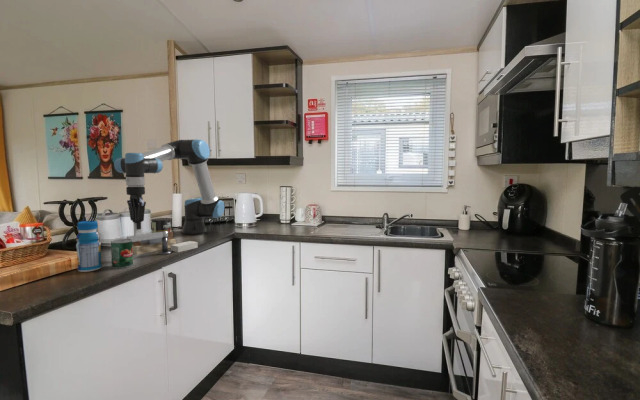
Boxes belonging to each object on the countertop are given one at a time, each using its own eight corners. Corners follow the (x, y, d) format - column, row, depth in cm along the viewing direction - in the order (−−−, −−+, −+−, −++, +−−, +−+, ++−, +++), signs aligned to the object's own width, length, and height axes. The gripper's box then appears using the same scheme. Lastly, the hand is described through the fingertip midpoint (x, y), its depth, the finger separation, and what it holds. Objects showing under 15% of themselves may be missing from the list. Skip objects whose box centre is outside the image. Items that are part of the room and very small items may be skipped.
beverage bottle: (87, 273, 129) (85, 223, 128) (72, 271, 132) (69, 222, 130) (107, 267, 137) (104, 220, 136) (91, 265, 140) (89, 220, 138)
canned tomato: (130, 267, 138) (129, 242, 137) (109, 269, 135) (108, 243, 134) (135, 262, 145) (134, 238, 144) (115, 264, 143) (114, 239, 142)
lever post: (166, 251, 166) (166, 235, 165) (174, 252, 163) (173, 236, 163) (155, 253, 161) (155, 237, 160) (163, 255, 158) (162, 238, 157)
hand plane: (169, 245, 181) (168, 231, 180) (176, 246, 178) (175, 232, 177) (129, 253, 162) (129, 237, 161) (136, 254, 159) (136, 238, 158)
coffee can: (175, 241, 190) (175, 218, 188) (163, 245, 179) (163, 220, 178) (160, 241, 192) (159, 217, 190) (147, 244, 182) (146, 219, 180)
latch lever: (166, 235, 164) (165, 230, 163) (169, 236, 162) (169, 231, 161) (126, 241, 149) (126, 236, 149) (129, 242, 147) (129, 237, 147)
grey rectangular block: (158, 239, 176) (157, 232, 175) (167, 241, 172) (167, 233, 171) (140, 243, 167) (139, 235, 167) (149, 244, 163) (149, 237, 163)
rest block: (190, 246, 178) (190, 241, 178) (197, 247, 175) (197, 242, 175) (170, 250, 168) (170, 245, 167) (178, 252, 165) (178, 246, 164)
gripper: (120, 185, 151) (122, 235, 154) (134, 187, 144) (136, 239, 146) (136, 185, 157) (139, 233, 160) (150, 186, 150) (152, 236, 152)
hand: (137, 235), depth 153 cm, fingers closed
